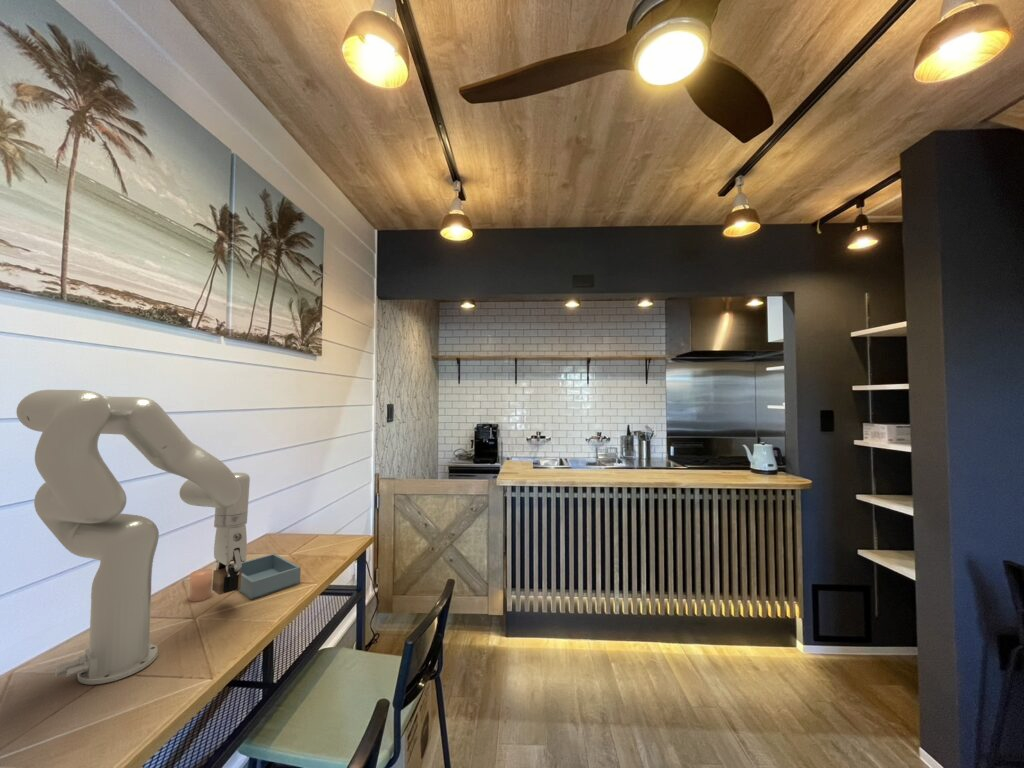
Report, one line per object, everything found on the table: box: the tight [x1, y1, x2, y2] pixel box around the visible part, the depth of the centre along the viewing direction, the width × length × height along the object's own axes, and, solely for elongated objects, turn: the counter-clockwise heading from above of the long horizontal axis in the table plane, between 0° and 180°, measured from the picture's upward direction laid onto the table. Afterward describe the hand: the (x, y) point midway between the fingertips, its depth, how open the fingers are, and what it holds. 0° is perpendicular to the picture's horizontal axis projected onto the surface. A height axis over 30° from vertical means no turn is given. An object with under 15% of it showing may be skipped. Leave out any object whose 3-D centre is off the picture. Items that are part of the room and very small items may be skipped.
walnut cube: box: [212, 566, 242, 596], centre depth 115 cm, size 5×5×5 cm
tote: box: [230, 553, 302, 601], centre depth 130 cm, size 14×18×5 cm
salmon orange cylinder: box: [189, 568, 213, 603], centre depth 121 cm, size 5×5×7 cm
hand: (226, 587), depth 115 cm, fingers closed on walnut cube, 4 cm apart
